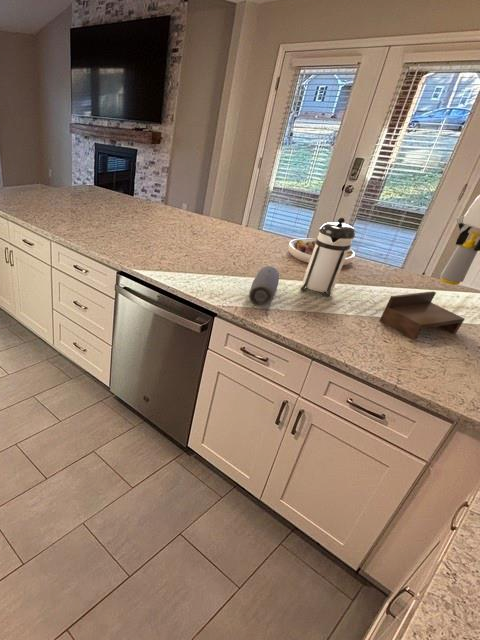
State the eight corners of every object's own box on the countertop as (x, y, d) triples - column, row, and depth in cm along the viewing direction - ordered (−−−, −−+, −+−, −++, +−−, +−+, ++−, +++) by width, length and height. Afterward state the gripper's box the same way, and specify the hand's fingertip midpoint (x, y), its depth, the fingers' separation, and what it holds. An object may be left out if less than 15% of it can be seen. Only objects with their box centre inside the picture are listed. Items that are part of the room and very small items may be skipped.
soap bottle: (462, 287, 145) (490, 237, 135) (438, 282, 148) (464, 232, 139) (461, 281, 150) (488, 232, 140) (437, 276, 153) (463, 228, 143)
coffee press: (345, 297, 169) (376, 223, 152) (310, 298, 166) (337, 223, 150) (320, 279, 183) (345, 210, 166) (287, 281, 180) (309, 211, 164)
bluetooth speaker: (253, 285, 175) (259, 262, 169) (276, 290, 172) (283, 267, 166) (244, 306, 158) (250, 282, 152) (269, 312, 154) (277, 287, 149)
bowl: (302, 243, 225) (306, 229, 220) (360, 259, 207) (366, 244, 202) (275, 255, 207) (280, 240, 203) (336, 274, 189) (343, 257, 185)
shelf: (456, 333, 146) (471, 308, 141) (413, 339, 141) (427, 314, 136) (420, 315, 157) (433, 291, 152) (379, 320, 152) (391, 295, 147)
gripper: (536, 198, 126) (502, 255, 136) (479, 186, 140) (452, 239, 150) (518, 199, 125) (485, 256, 134) (463, 187, 138) (436, 240, 148)
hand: (468, 246), depth 142 cm, fingers closed on soap bottle, 5 cm apart
